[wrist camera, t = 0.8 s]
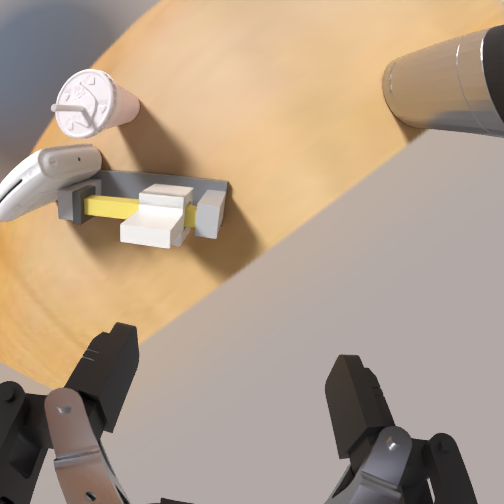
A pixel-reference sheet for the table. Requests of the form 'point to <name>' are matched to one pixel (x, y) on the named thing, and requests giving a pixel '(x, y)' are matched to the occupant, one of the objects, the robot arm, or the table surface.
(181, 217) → the white stepped block
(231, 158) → the table surface
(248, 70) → the table surface
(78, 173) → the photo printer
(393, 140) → the table surface
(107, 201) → the slider rail
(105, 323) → the table surface
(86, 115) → the smoothie
